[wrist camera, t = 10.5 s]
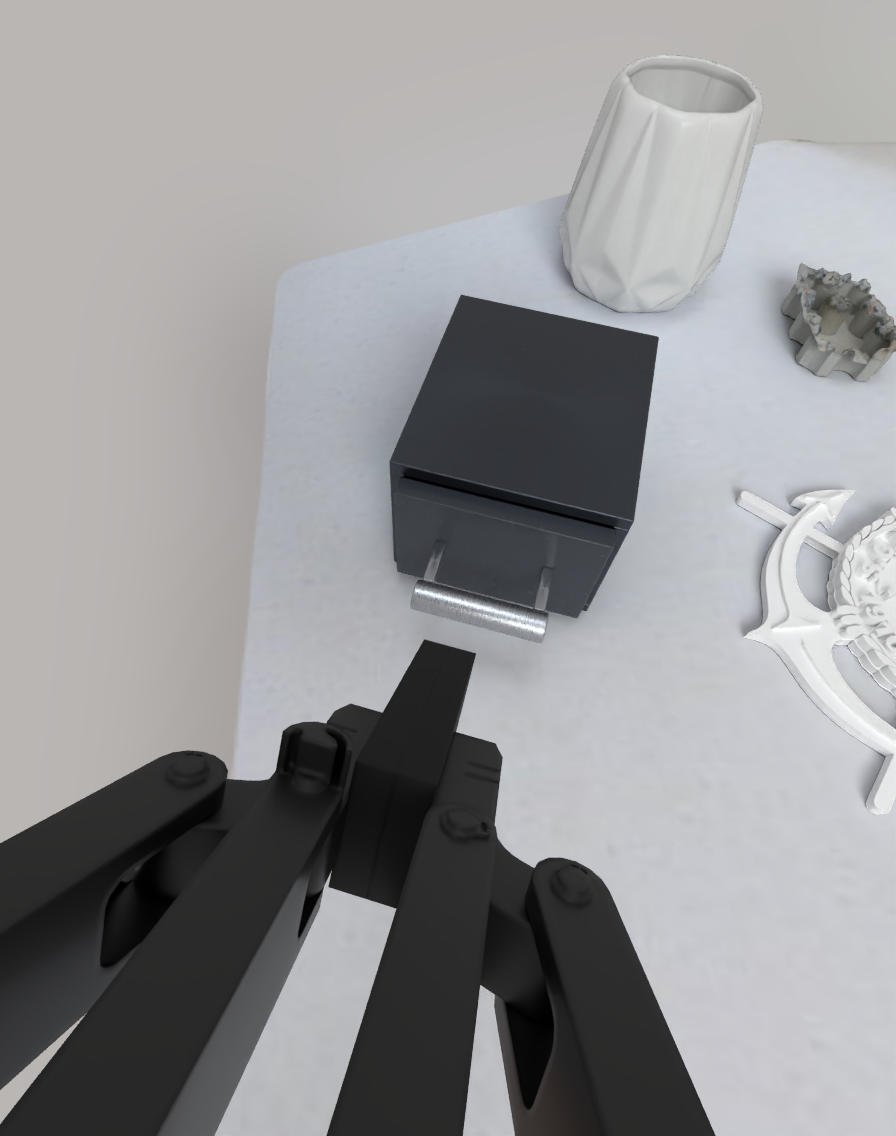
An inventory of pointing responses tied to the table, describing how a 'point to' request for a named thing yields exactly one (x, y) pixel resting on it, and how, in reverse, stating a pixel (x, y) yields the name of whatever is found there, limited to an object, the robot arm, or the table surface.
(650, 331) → the table surface
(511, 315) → the small drawer cabinet
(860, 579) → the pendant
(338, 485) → the table surface
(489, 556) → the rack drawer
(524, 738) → the table surface
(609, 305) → the vase
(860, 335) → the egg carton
